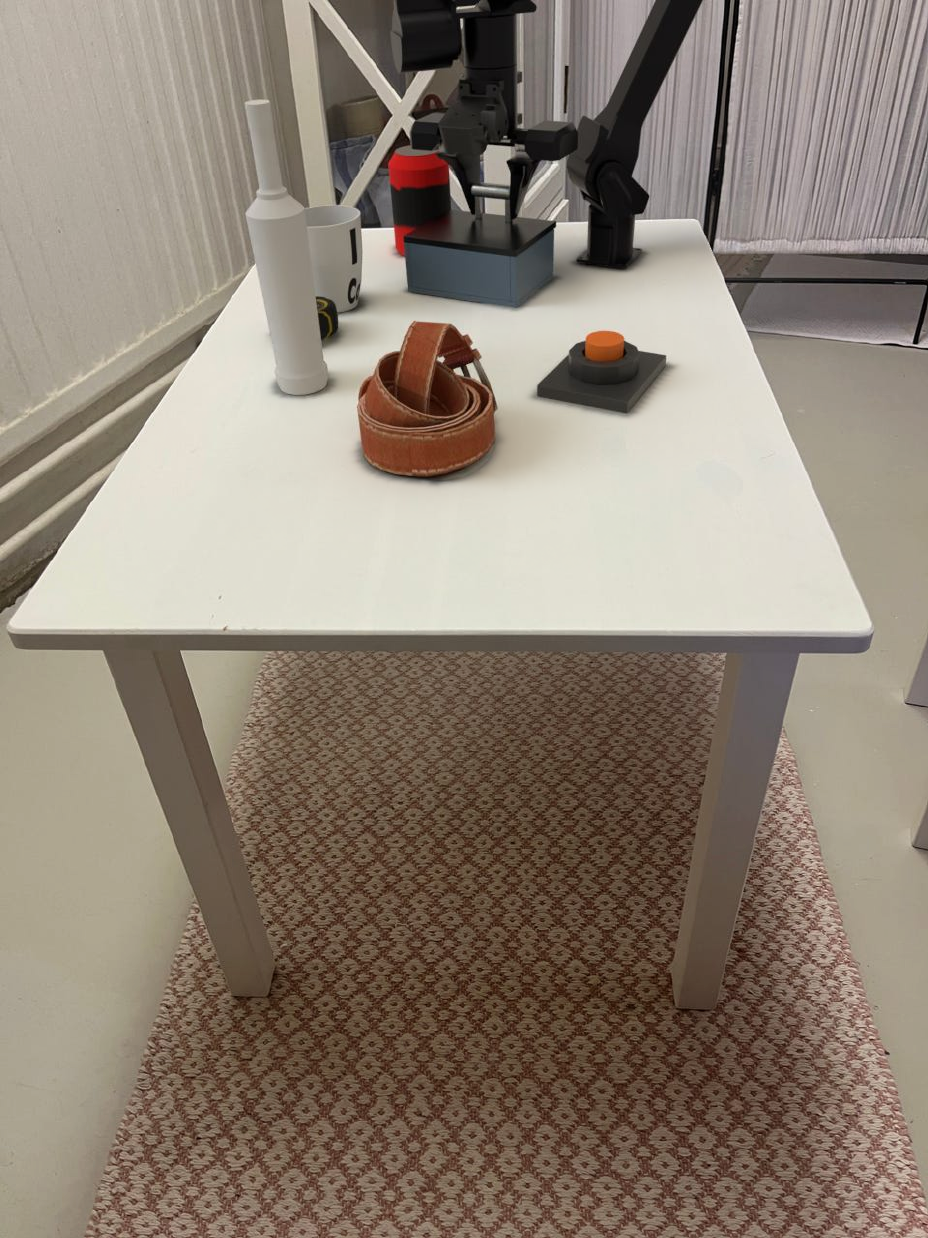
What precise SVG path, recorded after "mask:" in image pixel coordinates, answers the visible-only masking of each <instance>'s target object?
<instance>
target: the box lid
mask: <svg viewBox="0 0 928 1238" xmlns="http://www.w3.org/2000/svg"><path fill="white" fill-rule="evenodd" d="M471 193H472V196H474V198H475V215H472V214H471V212H470V210H469V211H468V210H460V209H452V208H451V209H448V210H447V211H445V212H443V213H442V214H440V215H438V216H437V217H435V218H433V219H432V220H430V221H428V222H426V223H425V224H423V225H421V226H420V227H418V228H416V229H415V230H413V231H411V232H410V233H408V234H406V235H404V236H403V239H404V242H406V243H414V244H422V245H430V246H437V247H445V248H453V249H461V250H468V251H476V252H484V253H491V254H499V255H507V256H515V257H516V256H518V255H519V254H520V253H522V252H523V251H524V250H526V249H527V248H528V247H530V246H531V245H533V244H534V243H535V242H537V241H538V240H539V239H541V238H542V237H543V236H545V235H546V234H547V233H549V232H550V231H552V230H553V229H554V230H555V229H557V220H551V219H541V218H532V217H523V216H517V218H515V219H511V217H510V184H505V183H504V184H502V183H494V182H493V183H492V182H481V181H480V182H474V183H473V184H472V188H471ZM483 198H484V199H494V200H503V201H504V214H495V213H487V212H483Z"/></svg>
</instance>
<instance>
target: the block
mask: <svg viewBox="0 0 928 1238" xmlns="http://www.w3.org/2000/svg"><path fill="white" fill-rule="evenodd" d="M585 342H586V339H585V340H582V341H579V342H576V343H574V345H573V346H572V347H571V348H570V349H569V350H568V354H567V355H566V356H565V357H564V358H563V359H562V360H561V361H560V362H559V363H558V364H557V365H556V366H555V367H554V368H553V369H552V370H551V371H550V372H549V373H548V374H547V375H546V376H545V377H544V378H543V379H542V380H541V381H540V382H539V383H538V384H537V385H536V396H537V397H539V398H543V399H550V400H555V401H560V402H566V403H570V404H576V405H581V406H587V407H592V408H596V409H601V410H608V411H612V412H617V413H623V414H628V413H629V412H630V410H631V409H632V408H633V406H635V404H636V403H637V402H638V401H639V399H640V398H641V397H642V395H643V394H644V393H645V392H646V390H648V388H649V387H650V386H651V385H652V383H653V382H654V381H655V380H656V378H657V377H658V376H659V375H660V373H661V372H662V371H663V370H664V368H666V364H667V363H666V362H667V354H661V353H654V352H650V351H643V350H639V349H638V347H637V345H634V344H632V343H630V342H629V341H626V340H624V350H623V357H622V358H621V359H618V360H615V361H604V362H600V361H595V360H590V359H588V358H587V357H585Z"/></svg>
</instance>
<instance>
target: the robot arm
mask: <svg viewBox="0 0 928 1238" xmlns="http://www.w3.org/2000/svg"><path fill="white" fill-rule="evenodd" d="M703 1H704V0H654V2H653V5H652V7H651V9H650V11H649V13H648V16H647V18H646V20H645V22H644V24H643V27H642V29H641V31H640V33H639V35H638V37H637V39H636V41H635V43H634V46H633V48H632V50H631V52H630V54H629V57H628V59H627V61H626V63H625V65H624V67H623V69H622V71H621V74H620V76H619V78H618V80H617V83H616V84H615V87H614V89H613V91H612V93H611V96H610V98H609V100H608V102H607V103H606V105H605V107H604V108H603V110H602V111H601V112H599V114H597V116H596V117H595V118H593V119H592V118H591V117H588V116H586V115H582V116H581V118H580V120H579V122H578V126H575V124H574V122H572V121H561V120H559V121H558V120H546V119H545V120H542V121H541V122H539V123H537V124H536V125H533V126H532V127H529V128H520V127H518V126H521V125H522V124H523V113H522V112H518V84H521V83H523V71H522V70H521V71H519V70H518V15H519V14H531V13H536V11H537V9H538V6H537V4H536V3H535V2H534V1H533V0H392V5H393V11H392V16H391V17H392V18H391V20H392V21H391V30H390V42H391V43H390V44H391V51H392V57H393V62H394V66H395V68H396V71H397V73H398V74H409V73H418V72H428V71H429V72H430V71H439V70H449V69H451V68H452V67H453V64H454V61H458V60H459V57H460V56H461V55H462V50H463V65H464V77H461V78H459V79H458V86H457V90H458V91H457V98H456V101H455V102H454V103H452V104H450V106H449V108H448V109H447V110H446V112H445V113H440V112H432V113H430V114H428V115H425V116H423V117H421V118H419V119H416V120H414V121H413V122H412V124H411V126H410V129H409V144H410V145H409V146H410V147H411V149H415V150H426V151H432V150H434V149H435V148H436V147H437V146H438V147H439V152H438V153H437V154H436V156H437V158H438V159H443V160H444V161H445V162H447V163H448V164H449V167H451V169H452V170H453V172H454V174H455V176H456V179H457V180H458V183H459V186H460V188H461V190H462V193H463V196H464V199H465V201H466V204H467V207H468V209H469V212H471V214H472V215H475V198H474V196H472V193H471V188H472V184H473V183H474V182H481V155H483V154H484V153H485V152H486V151H487V147H488V146H497V147H498V146H499V147H510V148H514V152H515V154H514V156H513V157H511V158H509V159H507V160H506V161H505V162H506V166H507V167H508V170H509V173H510V178H509V179H510V182H509V185H510V217H511V219H515V218H517V217H519V213H520V211H521V208H522V205H523V203H524V201H525V197H526V195H527V192H528V189H529V186H530V184H531V181H532V179H533V177H534V175H535V173H536V171H537V169H538V167H539V165H540V164H541V162H542V161H543V162H544V161H545V162H546V161H547V162H558V161H561V160H563V159H564V158H566V157H567V160H566V169H567V174H568V175H567V176H568V178H569V180H570V181H571V183H572V184H573V185H574V186H576V187H577V188H578V189H579V192H580V196H581V199H582V200H583V201H586V202H587V203H589V205H588V214H587V237H586V250H584V251H583V252H582V253H581V254H579V255H578V256H577V257H576V262H577V263H579V264H586V265H595V266H602V267H609V268H617V269H626V268H627V267H628V266H630V265H631V264H632V263H633V262H634V261H635V260H636V259H637V258H638V257H639V256H640V255H642V254H643V248H641V247H635V246H634V240H635V228H636V227H635V226H636V215H643V213H644V212H645V210H646V208H647V205H648V202H649V199H650V194H649V193H648V192H647V191H646V190H645V189H644V187H642V185H641V184H640V183H639V182H638V181H637V180H636V178H634V176H633V175H634V172H635V168H636V166H637V163H638V160H639V156H640V148H641V139H642V130H643V125H644V123H645V121H646V119H647V116H648V114H649V112H650V110H651V108H652V106H653V104H654V102H655V101H656V98H657V96H658V94H659V93H660V91H661V88H662V86H663V83H664V82H665V79H666V77H667V75H668V74H669V71H670V69H671V67H672V65H673V63H674V61H675V59H676V57H677V54H678V53H679V51H680V49H681V46H682V44H683V42H684V41H685V38H686V37H687V35H688V32H689V30H690V28H691V26H692V24H693V22H694V20H695V18H696V16H697V14H698V12H699V10H700V8H701V5H702V4H703ZM476 5H478V6H476ZM462 7H467V8H462ZM457 8H458V9H457ZM461 19H462V23H461ZM461 24H462V25H461ZM576 127H577V128H576Z"/></svg>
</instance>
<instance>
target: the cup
mask: <svg viewBox="0 0 928 1238" xmlns="http://www.w3.org/2000/svg"><path fill="white" fill-rule="evenodd" d="M304 209H305V217H306V225H307V233H308V241H309V249H310V257H311V265H312V273H313V281H314V288H315V296H320V297H325V298H327V299H330V300H332V301H333V302H334V303H335V305H336V308H337V313H338V314H340V313H344V312H348V311H351V310H353V309H354V308H356V307H357V306H358V303H359V297H360V291H361V286H362V276H363V275H362V274H363V238H362V237H363V235H362V219H361V218H362V217H361V210H360V209H358V208H356V207H354V206H351V205H350V206H349V205H344V204H343V205H342V204H326V205H315V206H310V207H304Z"/></svg>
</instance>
